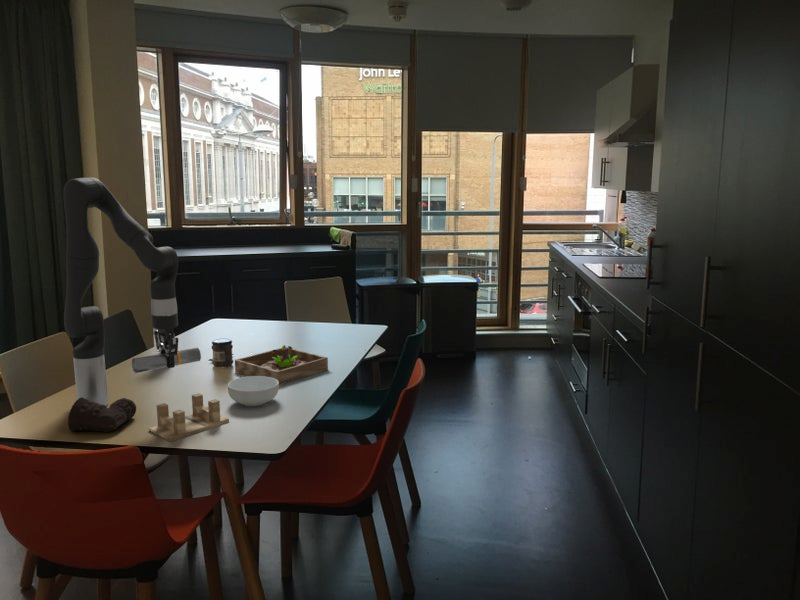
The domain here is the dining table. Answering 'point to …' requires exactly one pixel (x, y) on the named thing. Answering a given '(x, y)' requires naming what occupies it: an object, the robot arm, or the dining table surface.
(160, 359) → the tube
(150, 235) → the robot arm
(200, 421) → the cradle board
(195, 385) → the dining table surface
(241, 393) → the cereal bowl
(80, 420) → the dark brown boot
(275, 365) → the plant
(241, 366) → the planter box
